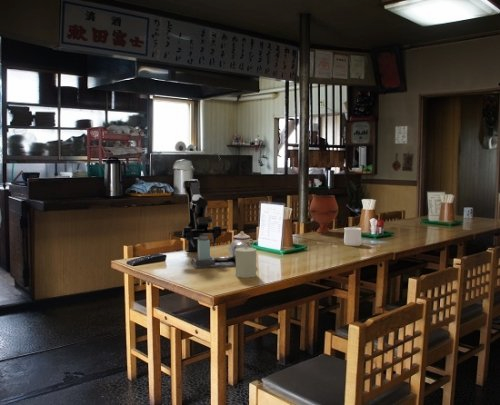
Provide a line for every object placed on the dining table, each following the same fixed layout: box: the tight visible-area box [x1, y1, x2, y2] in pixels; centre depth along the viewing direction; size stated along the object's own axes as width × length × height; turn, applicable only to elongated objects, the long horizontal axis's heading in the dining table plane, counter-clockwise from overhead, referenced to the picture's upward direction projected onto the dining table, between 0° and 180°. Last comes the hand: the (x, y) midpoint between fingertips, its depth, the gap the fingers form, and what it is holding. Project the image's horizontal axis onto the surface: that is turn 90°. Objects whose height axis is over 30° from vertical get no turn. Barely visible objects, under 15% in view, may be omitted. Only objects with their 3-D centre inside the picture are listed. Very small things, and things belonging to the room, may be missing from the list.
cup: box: [343, 226, 362, 247], centre depth 284 cm, size 10×10×10 cm
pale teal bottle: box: [197, 234, 211, 260], centre depth 232 cm, size 5×5×13 cm
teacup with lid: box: [233, 231, 254, 248], centre depth 260 cm, size 12×9×12 cm
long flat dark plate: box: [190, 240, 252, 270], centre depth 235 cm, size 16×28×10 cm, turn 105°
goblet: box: [309, 194, 339, 234], centre depth 330 cm, size 19×19×25 cm
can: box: [234, 247, 257, 279], centre depth 212 cm, size 9×9×12 cm
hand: (204, 246), depth 231 cm, fingers open, 9 cm apart
